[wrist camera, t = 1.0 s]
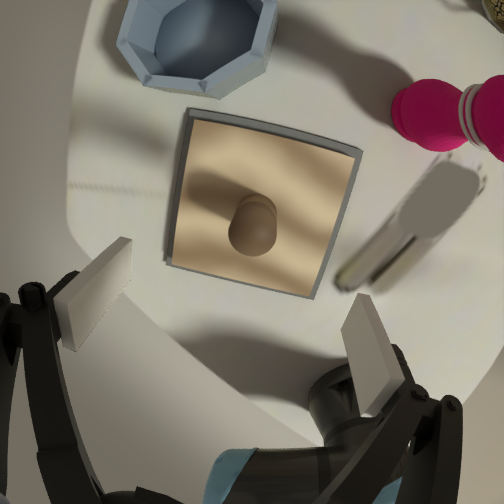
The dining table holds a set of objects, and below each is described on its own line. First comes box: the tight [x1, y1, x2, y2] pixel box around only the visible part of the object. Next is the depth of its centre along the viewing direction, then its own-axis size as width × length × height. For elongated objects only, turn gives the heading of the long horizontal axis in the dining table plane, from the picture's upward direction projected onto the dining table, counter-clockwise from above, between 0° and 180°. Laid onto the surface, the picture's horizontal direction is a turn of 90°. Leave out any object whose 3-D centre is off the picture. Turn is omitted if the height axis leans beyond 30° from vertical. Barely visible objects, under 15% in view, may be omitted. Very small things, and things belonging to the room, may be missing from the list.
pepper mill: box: [391, 75, 504, 162], centre depth 17 cm, size 7×7×20 cm
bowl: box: [116, 0, 278, 100], centre depth 22 cm, size 13×13×7 cm
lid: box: [172, 119, 355, 297], centre depth 28 cm, size 16×16×7 cm
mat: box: [166, 109, 363, 300], centre depth 32 cm, size 18×18×1 cm
